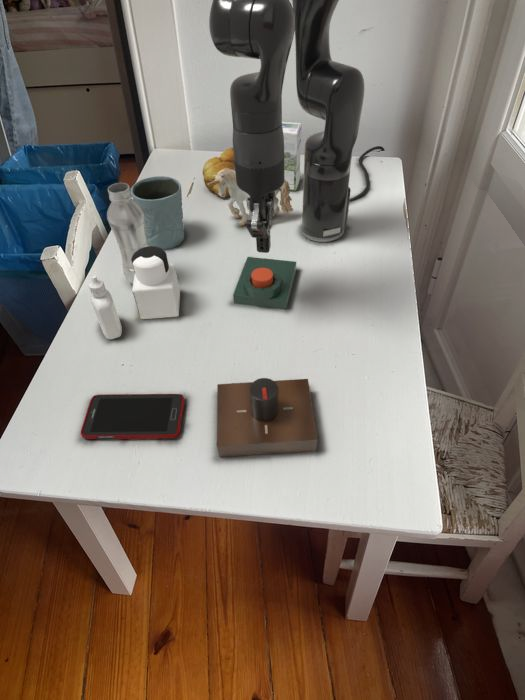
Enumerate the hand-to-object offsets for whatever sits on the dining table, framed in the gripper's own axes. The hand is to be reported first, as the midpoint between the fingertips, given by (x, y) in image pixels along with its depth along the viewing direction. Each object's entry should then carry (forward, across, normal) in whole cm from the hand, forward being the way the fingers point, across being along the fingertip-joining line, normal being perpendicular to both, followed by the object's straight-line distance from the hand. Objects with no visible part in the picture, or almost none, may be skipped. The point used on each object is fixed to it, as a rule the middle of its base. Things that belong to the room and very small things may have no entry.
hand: (263, 249), depth 85 cm
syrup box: (+12, +42, +3) cm, 44 cm away
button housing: (+11, +3, 0) cm, 11 cm away
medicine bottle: (+10, -6, +19) cm, 23 cm away
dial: (+7, -29, -5) cm, 30 cm away
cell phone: (+10, -31, +15) cm, 36 cm away
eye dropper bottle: (+10, -14, +26) cm, 31 cm away
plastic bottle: (+11, +1, +25) cm, 27 cm away
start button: (+7, 0, 0) cm, 7 cm away
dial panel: (+10, -29, -5) cm, 31 cm away
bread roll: (+11, +39, +19) cm, 45 cm away
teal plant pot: (+11, +16, +26) cm, 32 cm away
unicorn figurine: (+11, +22, +7) cm, 26 cm away
